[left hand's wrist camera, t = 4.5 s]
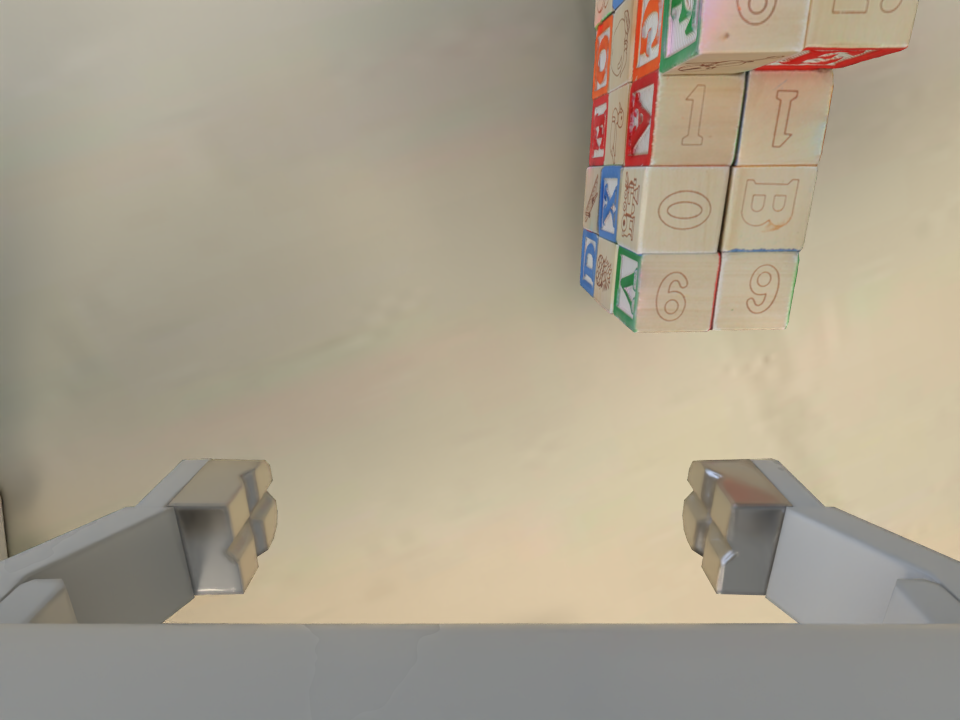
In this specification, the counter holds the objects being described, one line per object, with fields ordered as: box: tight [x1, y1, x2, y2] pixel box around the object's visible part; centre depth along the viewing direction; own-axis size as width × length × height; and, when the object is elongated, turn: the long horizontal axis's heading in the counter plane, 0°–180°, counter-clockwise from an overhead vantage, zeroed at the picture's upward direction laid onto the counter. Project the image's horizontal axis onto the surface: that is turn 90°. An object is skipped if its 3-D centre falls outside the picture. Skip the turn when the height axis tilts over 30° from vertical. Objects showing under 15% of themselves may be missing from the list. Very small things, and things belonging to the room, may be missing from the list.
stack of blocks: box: [580, 0, 919, 333], centre depth 20 cm, size 21×6×12 cm, turn 0°
